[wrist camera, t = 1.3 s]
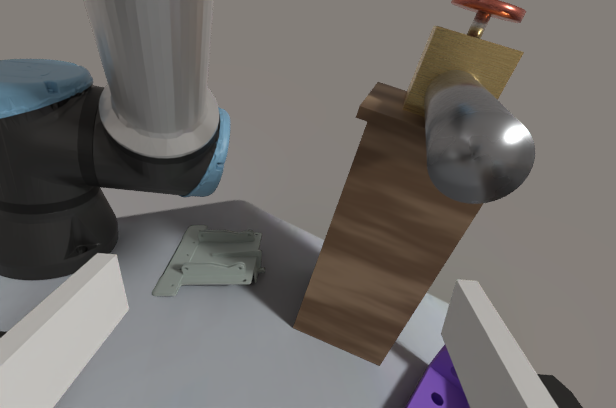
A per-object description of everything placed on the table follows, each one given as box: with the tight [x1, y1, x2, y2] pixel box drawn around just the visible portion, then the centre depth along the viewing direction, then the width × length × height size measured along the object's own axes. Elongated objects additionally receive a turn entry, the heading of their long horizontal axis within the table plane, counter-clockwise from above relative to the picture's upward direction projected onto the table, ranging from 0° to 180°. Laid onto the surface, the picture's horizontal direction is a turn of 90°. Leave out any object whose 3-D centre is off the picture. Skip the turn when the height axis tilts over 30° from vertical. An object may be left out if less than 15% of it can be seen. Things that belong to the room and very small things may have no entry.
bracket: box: [405, 345, 470, 408], centre depth 37 cm, size 12×7×7 cm, turn 140°
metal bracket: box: [152, 225, 265, 296], centre depth 49 cm, size 14×6×15 cm
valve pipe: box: [403, 0, 535, 204], centre depth 24 cm, size 24×7×10 cm, turn 163°
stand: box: [293, 82, 483, 366], centre depth 41 cm, size 14×14×30 cm
